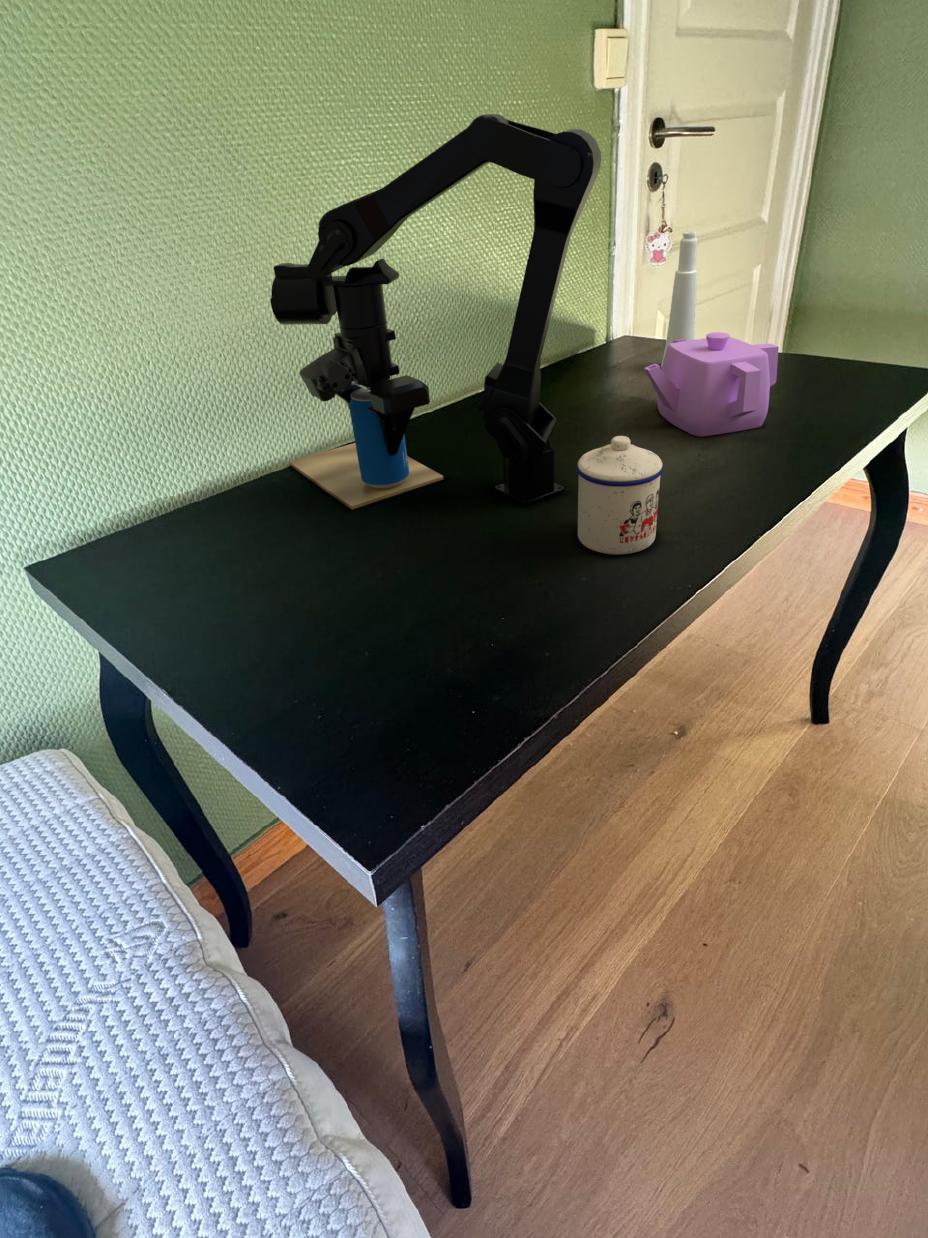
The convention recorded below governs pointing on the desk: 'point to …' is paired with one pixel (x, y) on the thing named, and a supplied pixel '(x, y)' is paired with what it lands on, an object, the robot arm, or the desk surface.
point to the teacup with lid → (618, 497)
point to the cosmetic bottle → (684, 293)
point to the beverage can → (375, 446)
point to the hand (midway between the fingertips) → (380, 447)
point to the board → (356, 476)
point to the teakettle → (715, 384)
